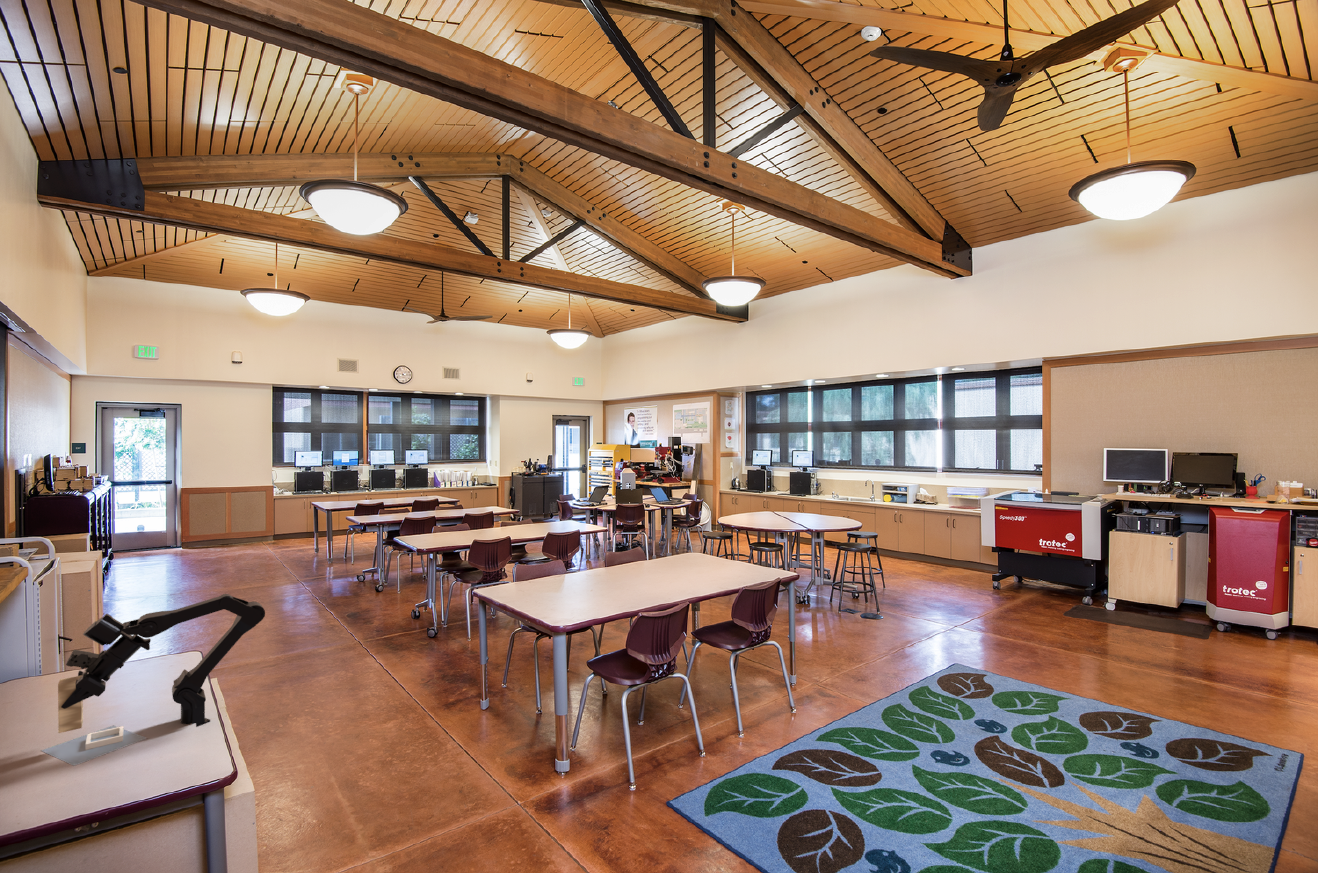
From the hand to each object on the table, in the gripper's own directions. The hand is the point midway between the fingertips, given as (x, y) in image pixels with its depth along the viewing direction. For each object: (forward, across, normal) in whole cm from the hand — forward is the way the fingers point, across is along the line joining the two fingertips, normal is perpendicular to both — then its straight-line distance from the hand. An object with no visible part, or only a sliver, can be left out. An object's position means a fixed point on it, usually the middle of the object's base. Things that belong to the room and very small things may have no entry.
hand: (63, 705), depth 166 cm
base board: (+5, +1, +14) cm, 15 cm away
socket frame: (+3, 0, +14) cm, 15 cm away
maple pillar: (+4, 0, +6) cm, 7 cm away
